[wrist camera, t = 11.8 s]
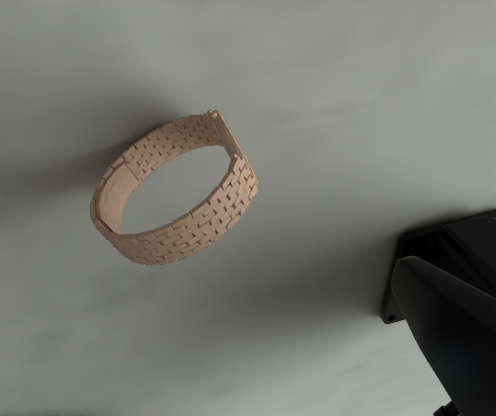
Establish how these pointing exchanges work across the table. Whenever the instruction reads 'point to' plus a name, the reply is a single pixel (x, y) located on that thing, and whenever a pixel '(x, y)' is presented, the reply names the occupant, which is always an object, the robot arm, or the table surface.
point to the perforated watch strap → (177, 233)
